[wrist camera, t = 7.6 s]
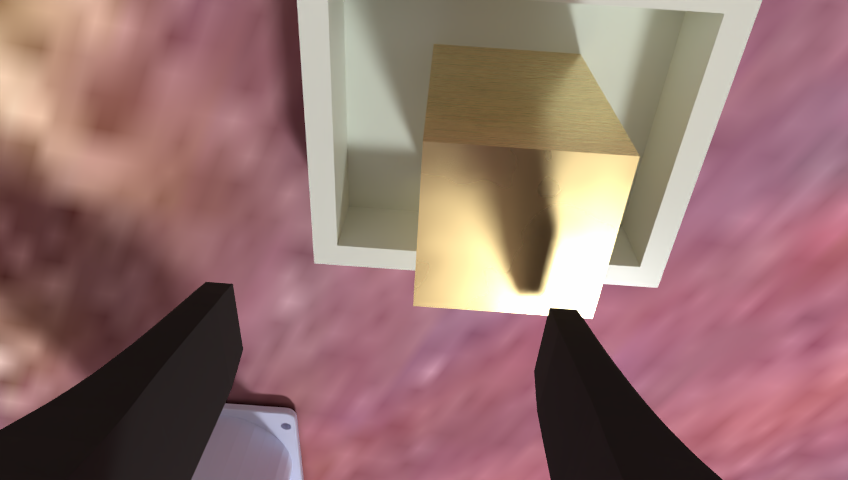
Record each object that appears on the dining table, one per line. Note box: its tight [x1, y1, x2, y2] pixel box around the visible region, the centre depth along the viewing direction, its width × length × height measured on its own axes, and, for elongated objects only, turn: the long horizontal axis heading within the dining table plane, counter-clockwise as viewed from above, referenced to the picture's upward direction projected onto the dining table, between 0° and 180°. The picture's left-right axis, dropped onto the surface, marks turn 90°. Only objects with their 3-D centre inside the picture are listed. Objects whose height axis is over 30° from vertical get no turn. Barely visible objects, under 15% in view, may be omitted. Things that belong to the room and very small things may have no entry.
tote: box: [297, 0, 762, 288], centre depth 18 cm, size 10×12×4 cm
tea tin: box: [413, 44, 640, 319], centre depth 16 cm, size 4×4×7 cm
